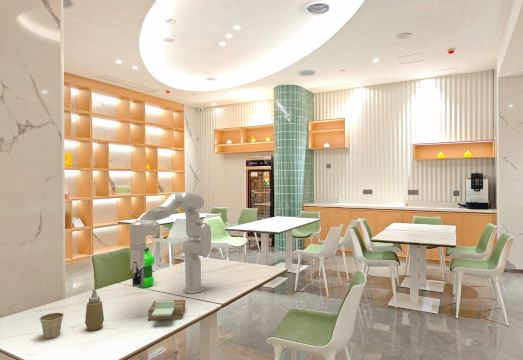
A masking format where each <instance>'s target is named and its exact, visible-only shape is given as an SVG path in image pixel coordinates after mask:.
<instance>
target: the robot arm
mask: <svg viewBox="0 0 523 360" xmlns="http://www.w3.org/2000/svg"><path fill="white" fill-rule="evenodd" d="M204 204H205V199H204V197H203V196H202V195H200V194H197V193H192V192H189V191H173V192H171V193H170V194H169V195H168V196H167V197H165V199H164V200H162V202H161V203H159V205H157V206H155V207H153V208H151V209H149V210H147V211H145V212H143V213H142V214H141V215H140V216H139V217H138V218H137V219H136V220H135V222H134V221H133V222H131V223H129V251H130V257H129V259H130V260H129V270H130V271H131V272H132V270H133V279H134V284H140V269H142V268H143V267H144V264H145V258H144V250H145V249H146V236H149V235H150V236H153V235H157V233H159V231H160V229H161V225H160V223H159V222H158V221H159V220H164V219H167V218H169V217H170V216H171V215H172V214H174V212H175V211H176V210H177V209H178V208H180V209H182V211H183V213H184V214H185V234H186V236H187V237H189V238H194V239H188V240H186V241H184V243H183V254H184V259H185V261H184V265H185V266H184V267H185V269H184V270H185V287H184V288H182V292H183V293H185V294H199V293H201V292H203V291H204V289H205V288H204V287H203V286H202V261H201V257H207V256H208V255H210V254H211V251H212V230H211V226H210V224H209V223H207V222H202V221H201V218H200V215H201V214H200V212H199V209H201V208H203V206H204ZM136 269H138V270H136ZM137 271H138V272H137Z"/></svg>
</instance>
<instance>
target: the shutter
mask: <svg viewBox="0 0 523 360" xmlns="http://www.w3.org/2000/svg"><path fill="white" fill-rule="evenodd" d="M157 301H158V302H155V310H154V312H153V313H152V316H168V315H172V313H173V311H174V301H164V300H157Z"/></svg>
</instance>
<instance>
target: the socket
mask: <svg viewBox="0 0 523 360" xmlns="http://www.w3.org/2000/svg"><path fill="white" fill-rule="evenodd" d="M158 301H159V300H154V301H153V303H152V304H151V305H150V307H149V309H148V310H147V314H148V316H147V317H148V319H147V320H148V321H149V322H151V321H170V320H172V321H173V320H182V319H183V316H184V313H185V311H186V299H168V300H167V299H165V300H164V299H163V301H174V311H173V313H172V315H168V316H152V313H153V312H154V310H155V302H158Z"/></svg>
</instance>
